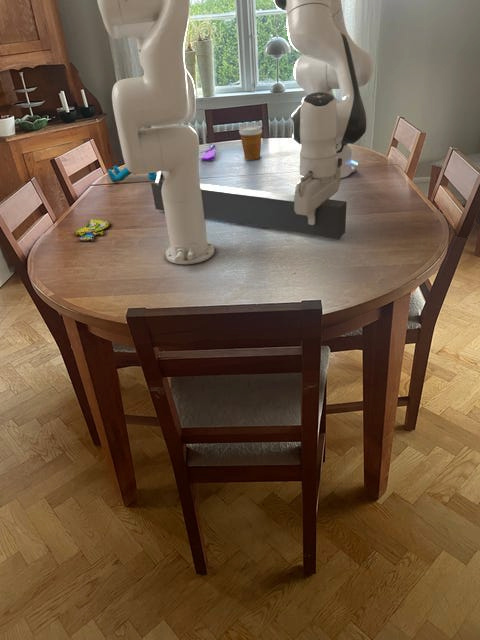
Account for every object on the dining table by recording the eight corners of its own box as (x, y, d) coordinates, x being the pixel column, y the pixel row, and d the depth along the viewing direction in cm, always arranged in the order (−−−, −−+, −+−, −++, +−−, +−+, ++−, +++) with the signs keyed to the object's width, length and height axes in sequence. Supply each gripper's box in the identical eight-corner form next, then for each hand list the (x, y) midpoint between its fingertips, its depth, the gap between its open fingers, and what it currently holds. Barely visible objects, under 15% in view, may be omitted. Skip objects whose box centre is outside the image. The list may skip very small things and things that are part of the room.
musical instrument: (187, 168, 197) (231, 153, 201) (185, 163, 196) (230, 148, 200) (173, 159, 217) (213, 146, 221) (171, 155, 216) (212, 141, 220)
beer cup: (238, 160, 197) (235, 130, 191) (244, 154, 205) (242, 125, 198) (260, 160, 194) (258, 129, 188) (266, 154, 202) (264, 124, 195)
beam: (155, 209, 152) (150, 182, 147) (164, 204, 155) (160, 178, 150) (338, 239, 122) (339, 207, 118) (345, 232, 126) (346, 201, 121)
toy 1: (64, 237, 138) (89, 218, 150) (65, 240, 139) (90, 221, 151) (95, 238, 136) (118, 218, 148) (96, 241, 136) (119, 221, 148)
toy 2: (118, 158, 191) (184, 137, 181) (129, 184, 196) (194, 165, 186) (99, 171, 177) (170, 149, 167) (111, 198, 182) (181, 178, 172)
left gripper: (157, 146, 131) (168, 210, 141) (194, 132, 143) (201, 192, 152) (137, 145, 134) (148, 207, 144) (174, 131, 146) (183, 190, 156)
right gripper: (311, 179, 109) (311, 236, 117) (345, 156, 123) (343, 208, 131) (287, 177, 112) (288, 232, 120) (322, 154, 126) (322, 205, 134)
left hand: (175, 199), depth 148 cm, fingers closed on beam, 4 cm apart
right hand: (317, 219), depth 126 cm, fingers closed on beam, 4 cm apart
